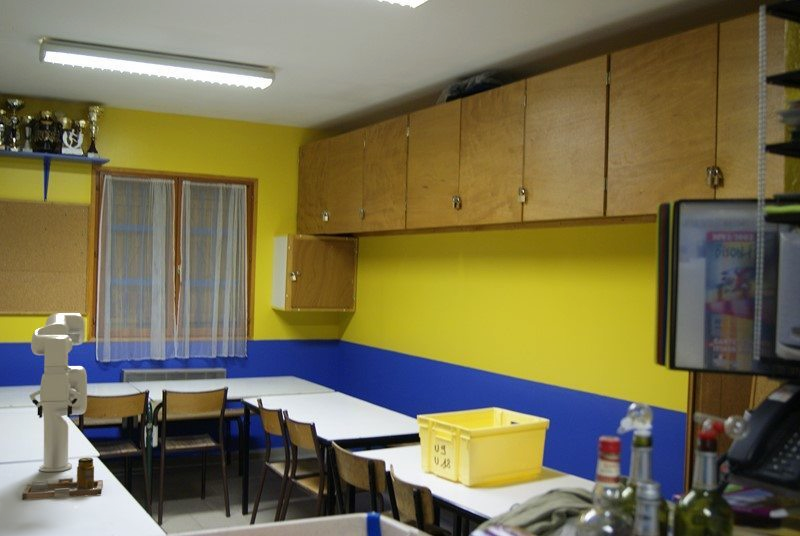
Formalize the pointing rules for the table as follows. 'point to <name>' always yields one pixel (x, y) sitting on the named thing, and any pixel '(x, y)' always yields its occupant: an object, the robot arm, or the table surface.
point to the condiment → (85, 474)
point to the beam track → (58, 489)
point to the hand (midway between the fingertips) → (54, 416)
